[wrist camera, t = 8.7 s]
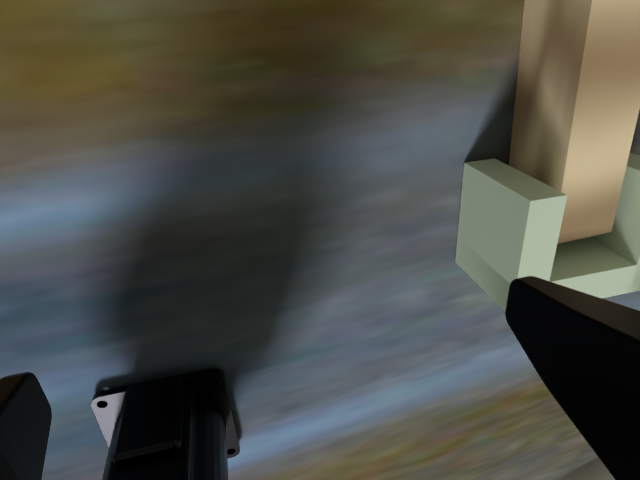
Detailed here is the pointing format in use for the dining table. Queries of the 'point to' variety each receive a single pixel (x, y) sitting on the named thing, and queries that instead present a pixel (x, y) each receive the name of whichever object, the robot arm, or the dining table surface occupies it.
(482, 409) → the dining table surface
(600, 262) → the end cap
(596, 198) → the slat
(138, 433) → the robot arm
